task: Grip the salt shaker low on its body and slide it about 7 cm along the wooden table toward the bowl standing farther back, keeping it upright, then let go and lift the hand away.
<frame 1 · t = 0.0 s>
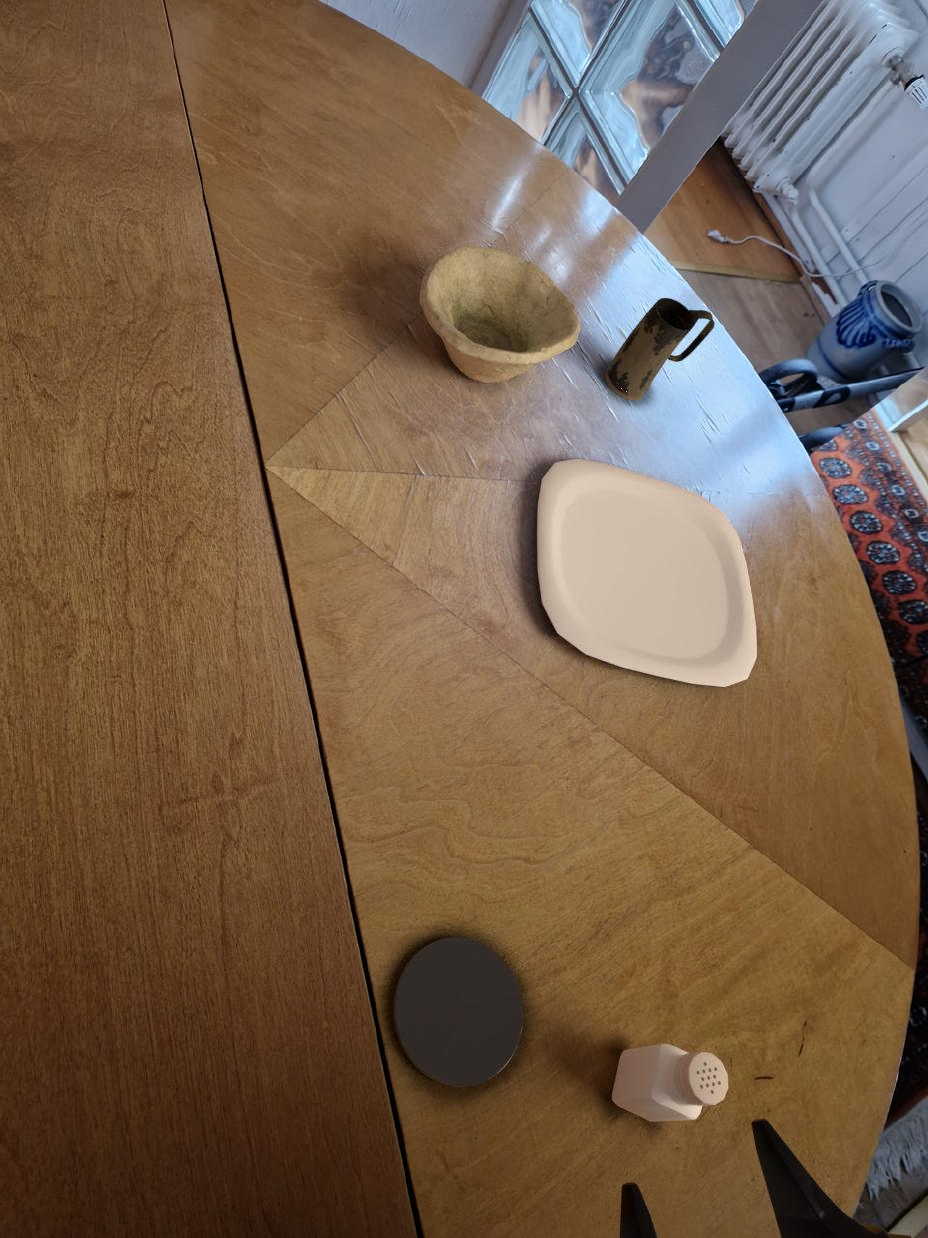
hand: (696, 1150, 49), 18 cm above the table, tool horizontal, fingers open, 9 cm apart
coaster: (458, 1009, 65), on the table
salt shaker: (634, 1086, 67), on the table
bowl: (477, 355, 101), on the table
plate: (640, 575, 93), on the table
mug: (631, 385, 108), on the table
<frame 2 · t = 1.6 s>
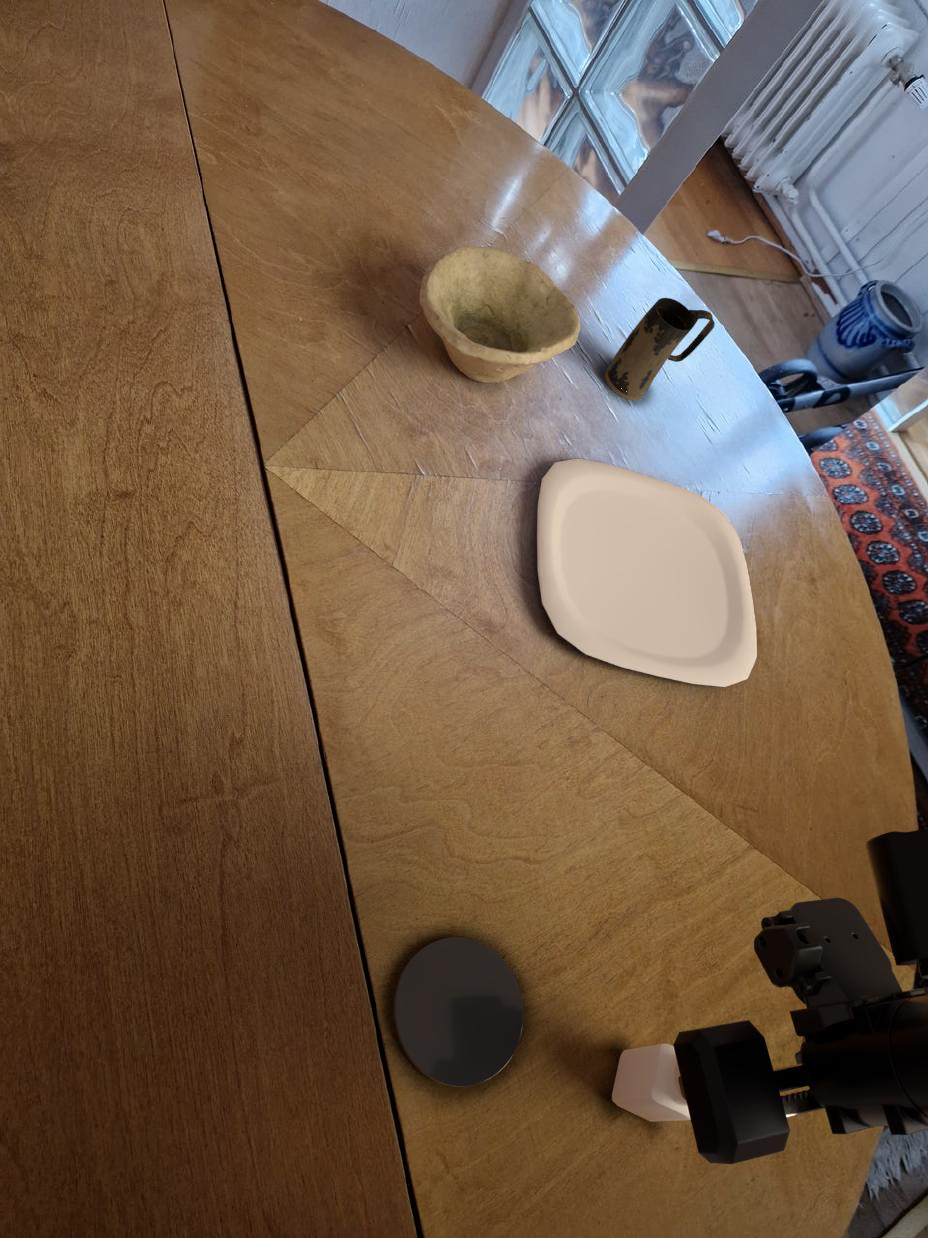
hand: (741, 1074, 56), 13 cm above the table, tool pointing down, fingers open, 9 cm apart
nothing on the table moved.
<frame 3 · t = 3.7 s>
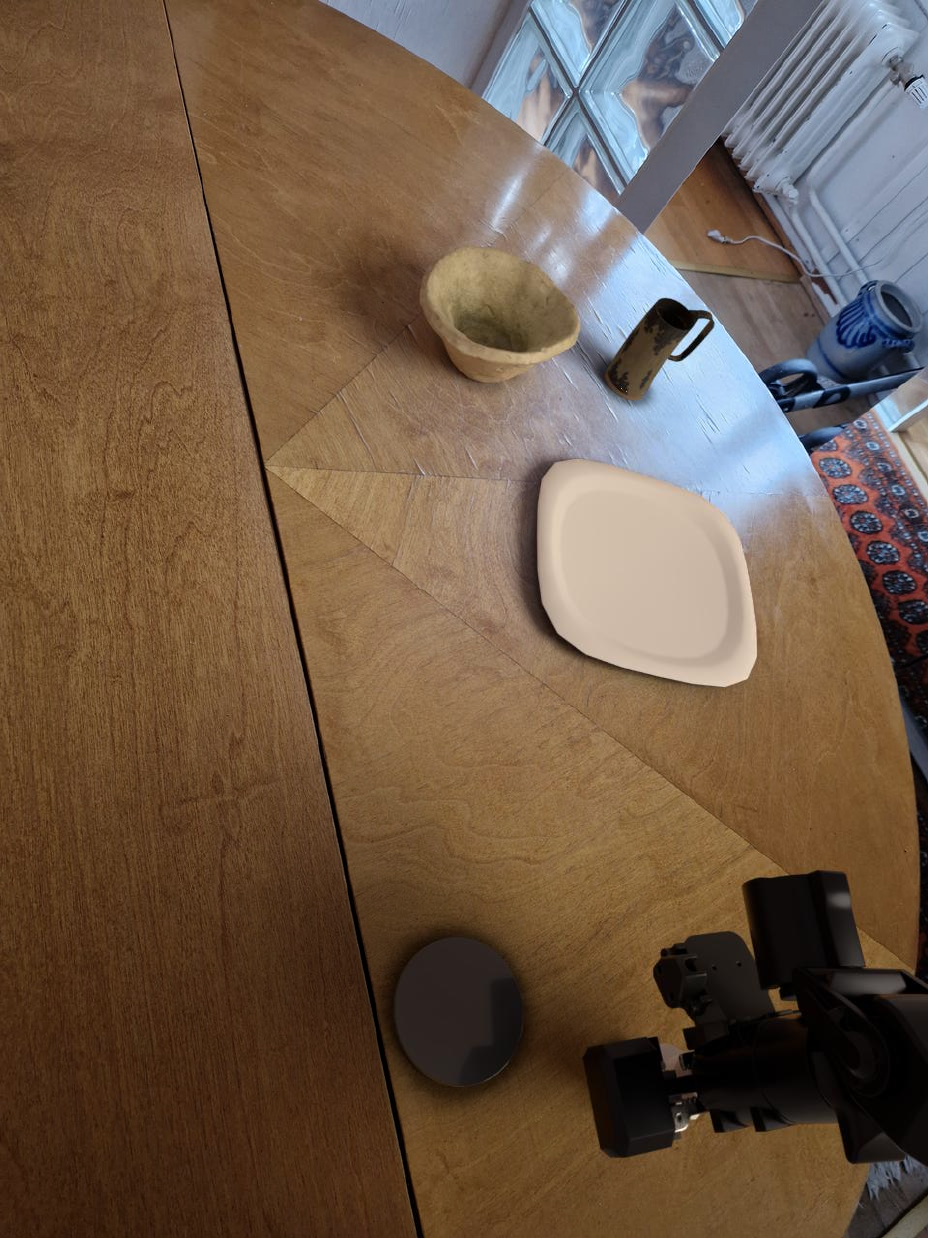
hand: (654, 1084, 65), 3 cm above the table, tool pointing down, fingers closed on salt shaker, 5 cm apart
salt shaker: (634, 1086, 67), on the table, touching gripper
everything else where it was.
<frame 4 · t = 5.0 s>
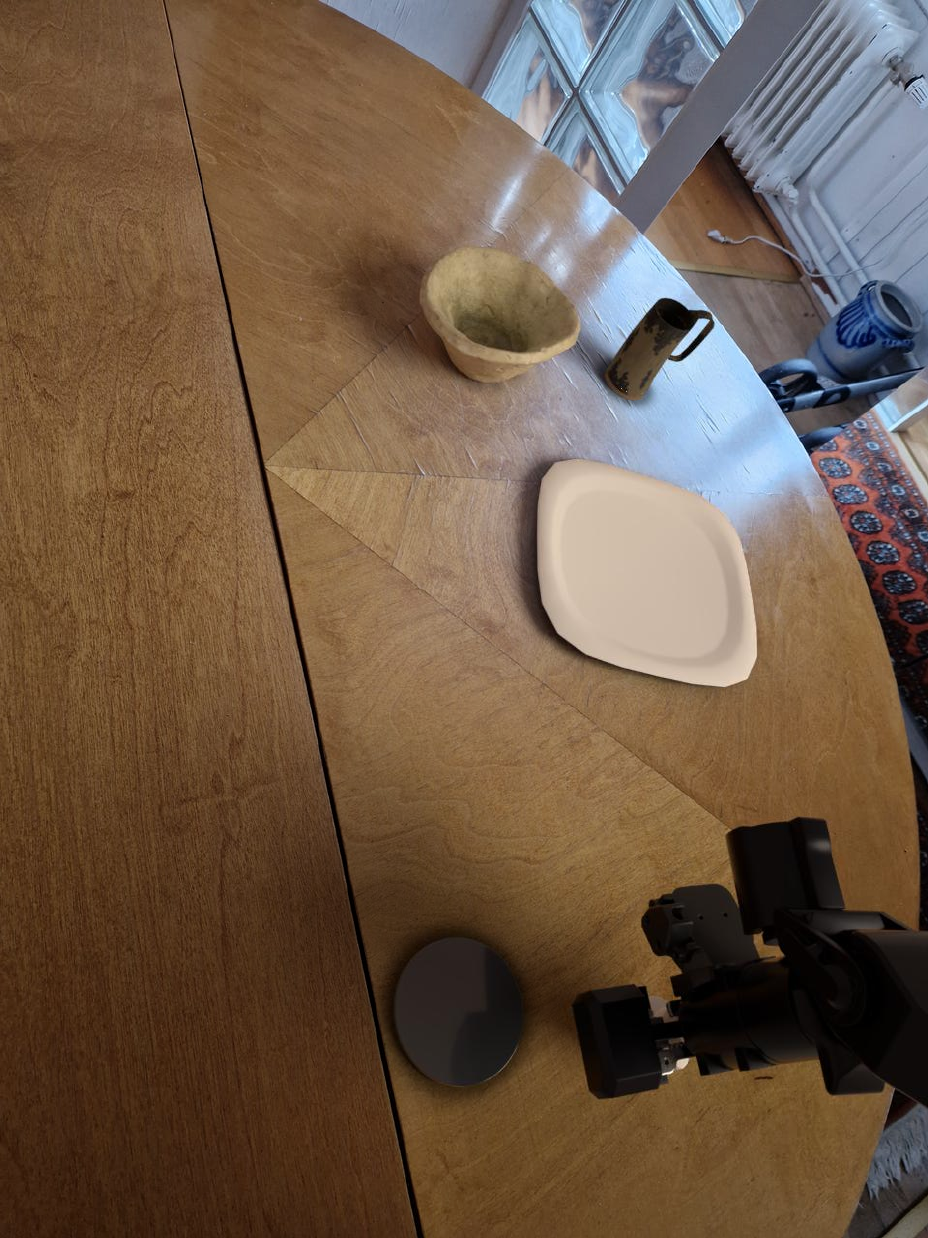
hand: (643, 1036, 66), 3 cm above the table, tool pointing down, fingers closed on salt shaker, 5 cm apart
salt shaker: (624, 1040, 69), on the table, touching gripper
everything else where it was.
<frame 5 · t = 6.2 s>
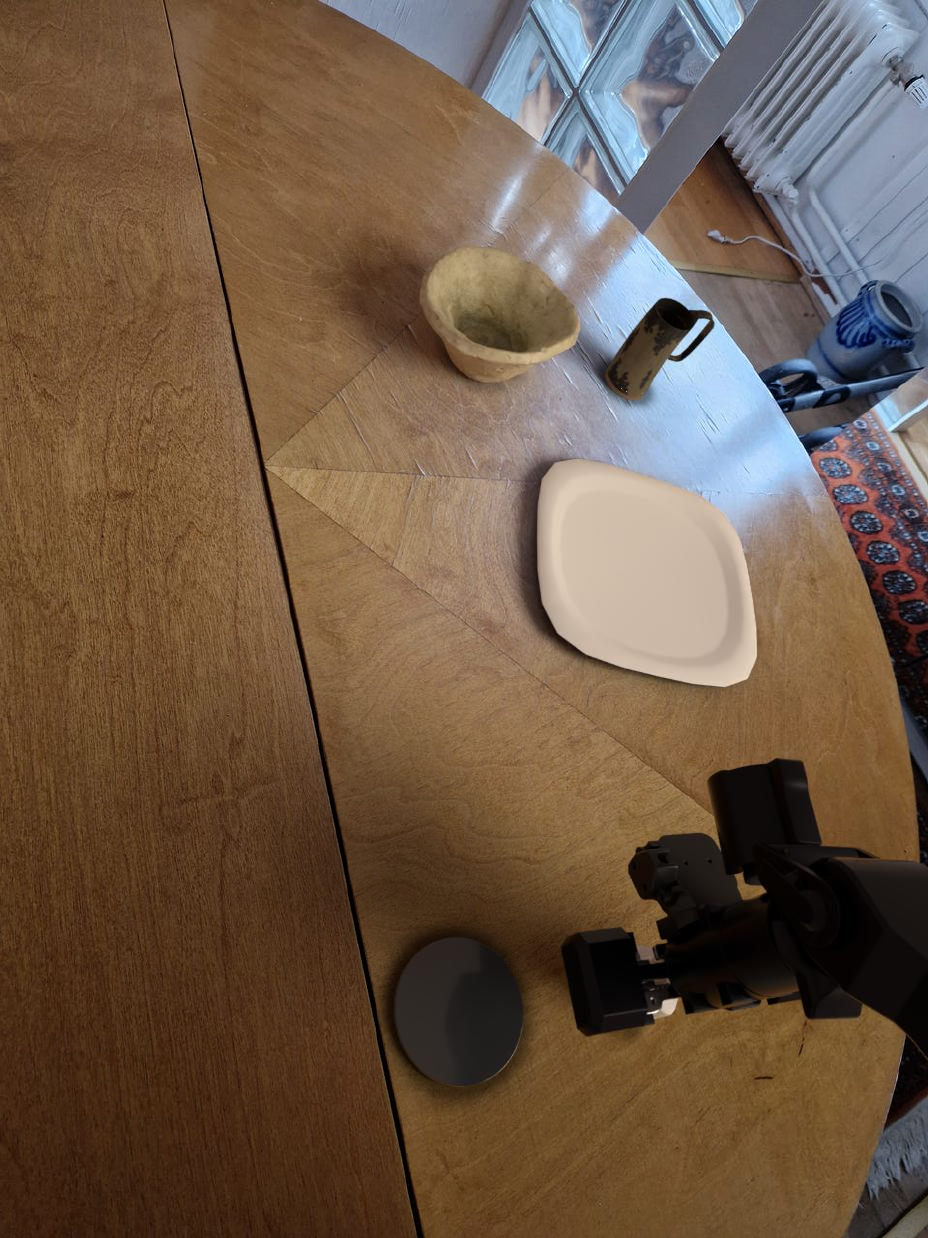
hand: (632, 986, 68), 3 cm above the table, tool pointing down, fingers closed on salt shaker, 5 cm apart
salt shaker: (614, 992, 70), on the table, touching gripper
everything else where it was.
when the fingers open (3 cm above the table, at t = 6.7 s): salt shaker stays where it is, on the table.
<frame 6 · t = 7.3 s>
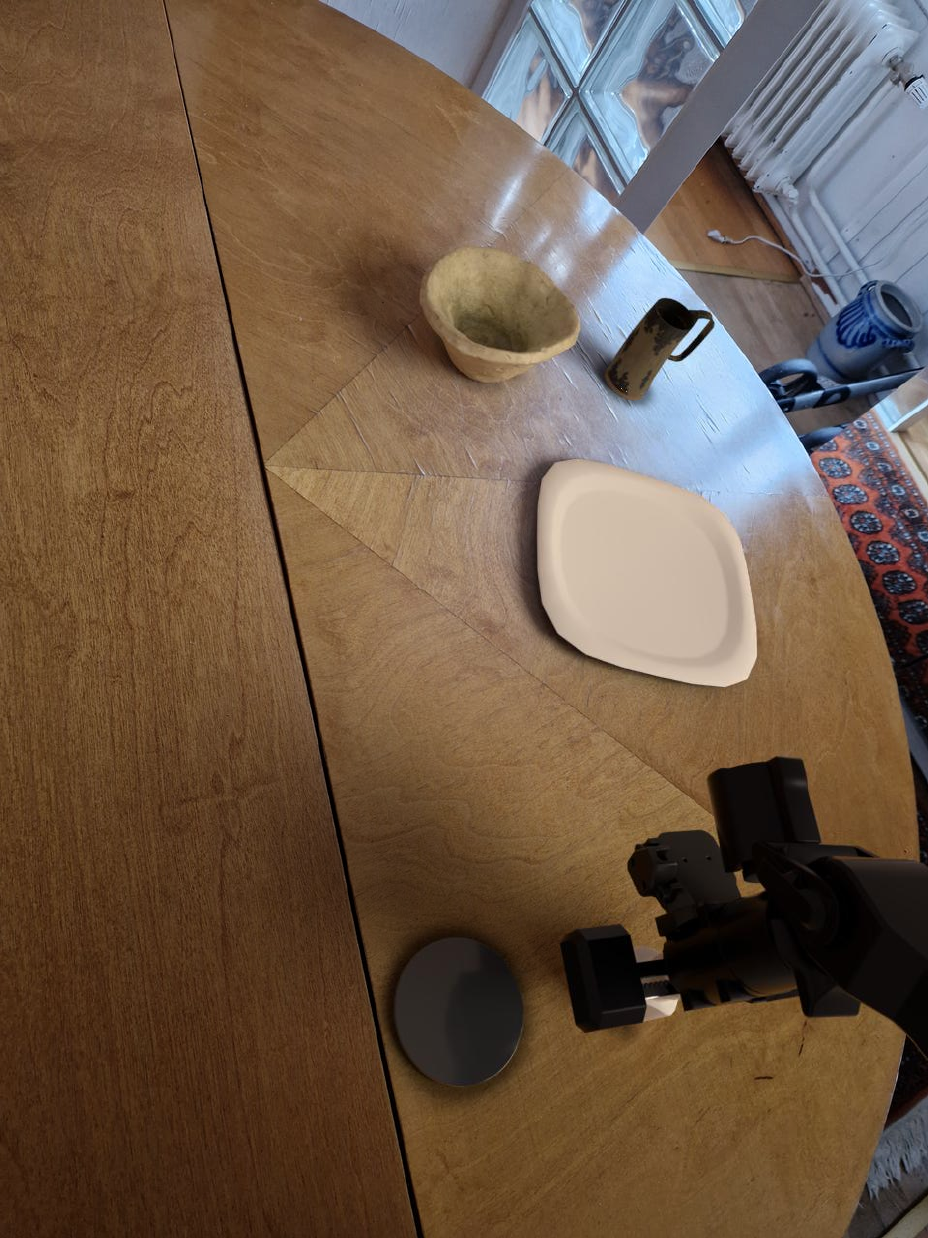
hand: (631, 982, 68), 3 cm above the table, tool pointing down, fingers open, 9 cm apart
salt shaker: (614, 991, 70), on the table
everything else where it was.
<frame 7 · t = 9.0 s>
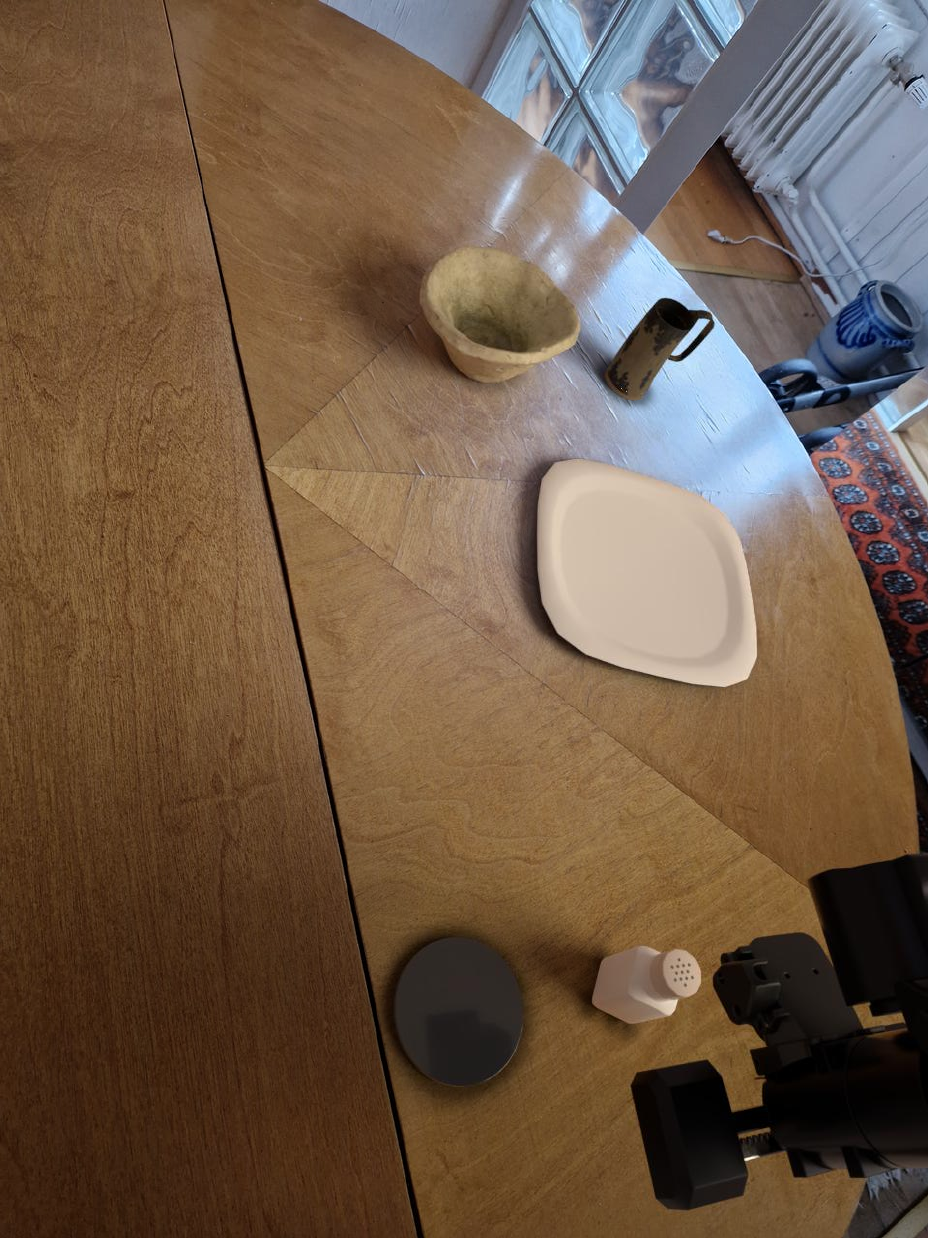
hand: (708, 1115, 55), 13 cm above the table, tool pointing down, fingers open, 9 cm apart
nothing on the table moved.
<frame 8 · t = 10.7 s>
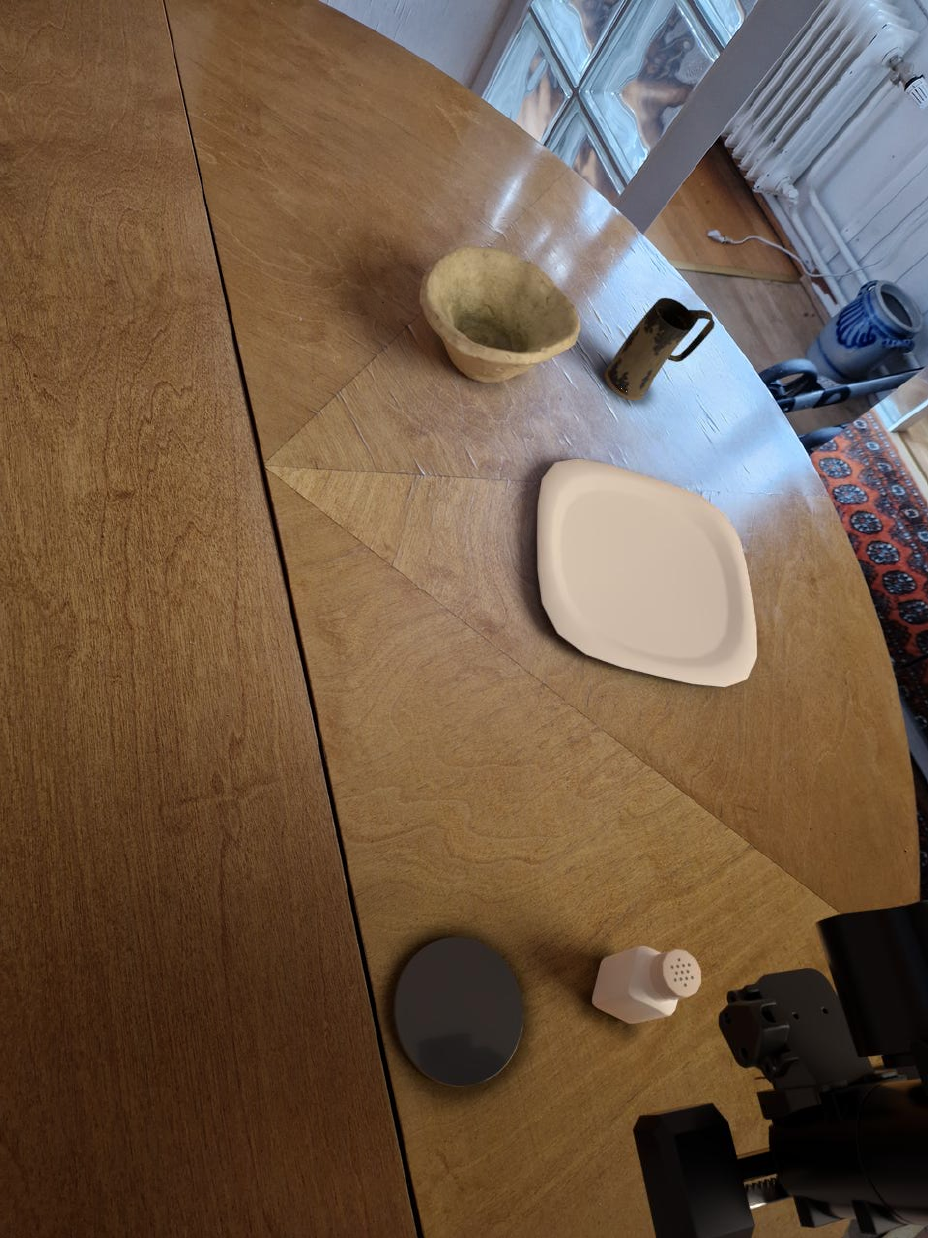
hand: (712, 1150, 54), 13 cm above the table, tool pointing down, fingers open, 9 cm apart
nothing on the table moved.
at the end: salt shaker moved 6.7 cm from its start; salt shaker 67.3 cm from the bowl (horizontally); salt shaker tilted 0° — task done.
